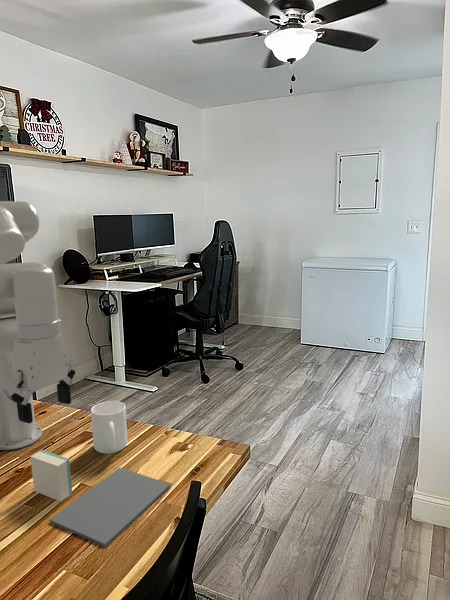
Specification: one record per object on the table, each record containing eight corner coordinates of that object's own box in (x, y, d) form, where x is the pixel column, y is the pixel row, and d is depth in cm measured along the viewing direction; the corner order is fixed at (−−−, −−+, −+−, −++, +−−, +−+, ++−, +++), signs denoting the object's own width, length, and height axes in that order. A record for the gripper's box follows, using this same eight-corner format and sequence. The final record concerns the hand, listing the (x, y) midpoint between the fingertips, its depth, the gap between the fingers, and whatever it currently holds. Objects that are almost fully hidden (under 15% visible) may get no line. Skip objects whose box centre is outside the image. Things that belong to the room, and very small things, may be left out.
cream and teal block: (34, 490, 97) (30, 456, 95) (45, 483, 99) (42, 449, 98) (61, 501, 93) (57, 466, 91) (72, 493, 95) (69, 458, 94)
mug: (130, 459, 108) (128, 418, 106) (94, 465, 106) (91, 424, 104) (125, 435, 120) (123, 399, 118) (93, 440, 117) (90, 403, 115)
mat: (49, 522, 87) (49, 519, 87) (120, 469, 104) (119, 467, 104) (105, 546, 80) (105, 543, 80) (170, 486, 97) (170, 484, 97)
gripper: (59, 318, 98) (65, 393, 102) (-15, 338, 83) (-5, 425, 87) (85, 322, 95) (90, 399, 98) (12, 344, 80) (22, 434, 83)
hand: (46, 411), depth 92 cm, fingers open, 9 cm apart
